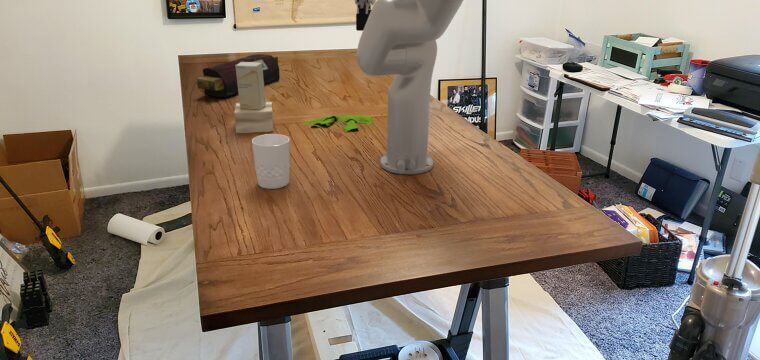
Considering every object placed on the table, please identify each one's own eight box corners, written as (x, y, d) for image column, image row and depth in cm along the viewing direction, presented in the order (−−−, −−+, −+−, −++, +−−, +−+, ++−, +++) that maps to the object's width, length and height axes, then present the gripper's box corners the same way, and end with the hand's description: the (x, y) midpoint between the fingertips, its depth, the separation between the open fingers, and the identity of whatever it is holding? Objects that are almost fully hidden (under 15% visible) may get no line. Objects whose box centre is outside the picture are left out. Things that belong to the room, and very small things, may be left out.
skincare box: (239, 109, 155) (233, 65, 150) (246, 103, 159) (240, 61, 154) (261, 109, 154) (256, 66, 149) (267, 104, 158) (262, 61, 153)
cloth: (382, 119, 170) (382, 111, 169) (360, 142, 150) (360, 134, 149) (319, 113, 175) (319, 105, 174) (289, 134, 155) (289, 126, 154)
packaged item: (218, 103, 182) (215, 72, 178) (195, 99, 186) (191, 69, 182) (287, 79, 215) (286, 52, 211) (266, 76, 219) (264, 50, 215)
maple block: (273, 132, 156) (272, 111, 153) (236, 133, 154) (234, 112, 152) (273, 121, 165) (271, 101, 162) (238, 123, 163) (236, 102, 161)
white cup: (275, 173, 128) (272, 131, 124) (299, 182, 124) (297, 139, 120) (247, 183, 122) (244, 140, 119) (271, 193, 118) (268, 148, 114)
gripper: (377, -43, 130) (376, 33, 137) (381, -45, 146) (380, 23, 153) (345, -43, 131) (346, 32, 137) (352, -45, 147) (352, 22, 153)
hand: (364, 27), depth 145 cm, fingers open, 9 cm apart
